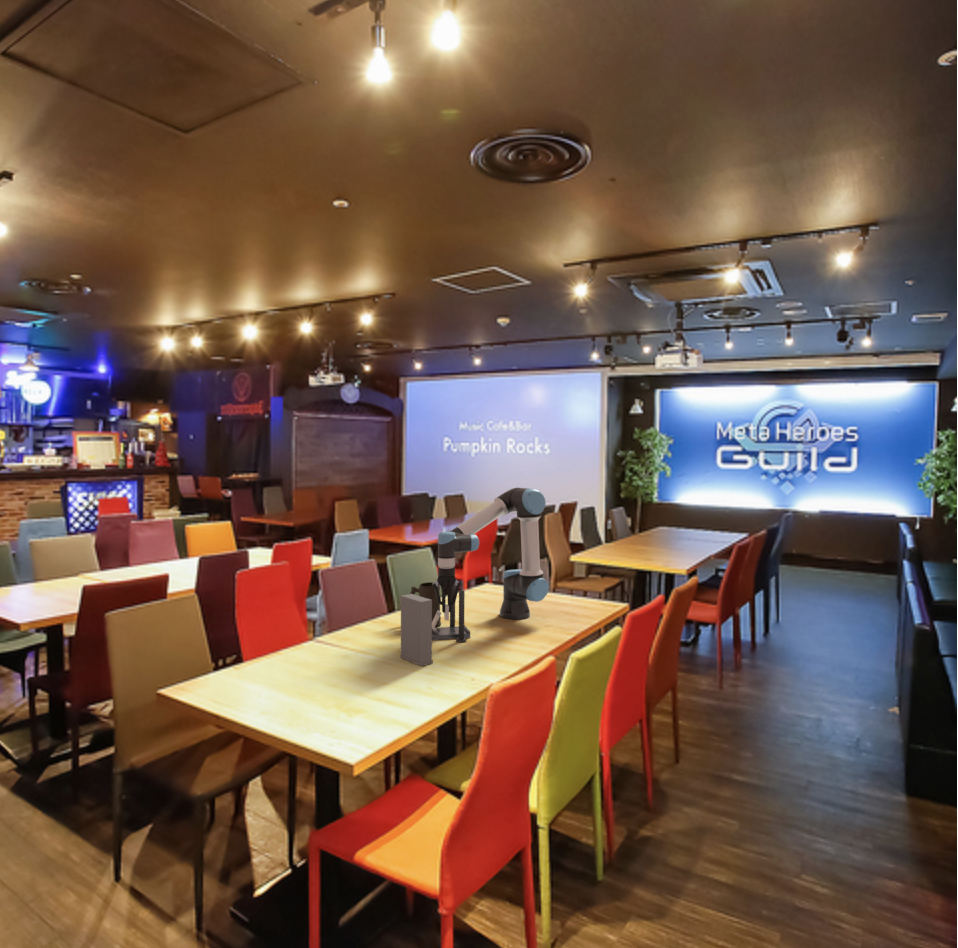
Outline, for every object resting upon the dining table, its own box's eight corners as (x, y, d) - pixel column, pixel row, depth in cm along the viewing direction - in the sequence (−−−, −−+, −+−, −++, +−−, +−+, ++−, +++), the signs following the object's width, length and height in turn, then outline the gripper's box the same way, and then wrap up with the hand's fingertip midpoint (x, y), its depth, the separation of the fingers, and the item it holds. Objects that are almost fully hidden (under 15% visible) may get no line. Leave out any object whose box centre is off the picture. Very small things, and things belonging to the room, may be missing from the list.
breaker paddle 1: (432, 627, 294) (440, 611, 294) (434, 630, 290) (441, 613, 291) (429, 626, 293) (437, 610, 294) (430, 628, 290) (438, 611, 290)
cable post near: (465, 639, 283) (465, 589, 282) (467, 642, 279) (467, 591, 278) (455, 640, 282) (455, 589, 281) (457, 642, 278) (457, 592, 277)
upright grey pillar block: (433, 663, 251) (433, 599, 250) (420, 666, 247) (421, 602, 246) (412, 654, 261) (413, 593, 260) (400, 657, 257) (400, 595, 256)
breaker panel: (464, 630, 297) (464, 624, 297) (470, 637, 286) (470, 631, 285) (412, 633, 291) (412, 627, 291) (416, 641, 279) (416, 635, 279)
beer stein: (444, 622, 310) (441, 581, 309) (440, 628, 299) (438, 585, 299) (412, 623, 312) (410, 582, 311) (408, 629, 301) (405, 587, 300)
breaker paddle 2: (436, 629, 288) (427, 614, 287) (438, 631, 284) (428, 616, 283) (433, 631, 288) (424, 616, 286) (435, 634, 284) (425, 619, 283)
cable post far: (456, 628, 300) (456, 581, 300) (458, 630, 296) (458, 583, 295) (446, 628, 299) (447, 581, 298) (448, 631, 295) (449, 583, 294)
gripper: (459, 564, 291) (459, 616, 292) (430, 566, 288) (430, 618, 289) (462, 567, 284) (462, 620, 285) (433, 569, 281) (433, 622, 282)
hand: (446, 619), depth 287 cm, fingers closed
